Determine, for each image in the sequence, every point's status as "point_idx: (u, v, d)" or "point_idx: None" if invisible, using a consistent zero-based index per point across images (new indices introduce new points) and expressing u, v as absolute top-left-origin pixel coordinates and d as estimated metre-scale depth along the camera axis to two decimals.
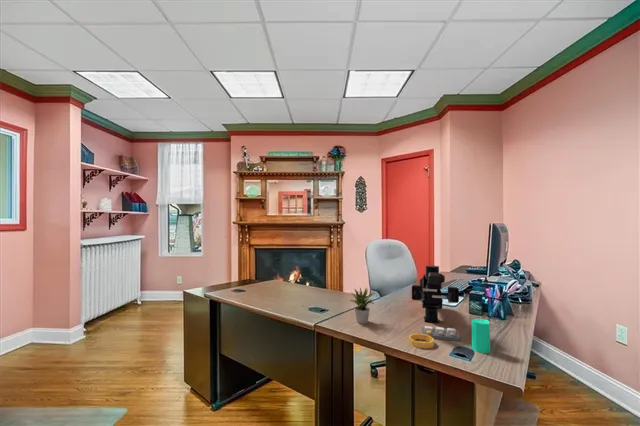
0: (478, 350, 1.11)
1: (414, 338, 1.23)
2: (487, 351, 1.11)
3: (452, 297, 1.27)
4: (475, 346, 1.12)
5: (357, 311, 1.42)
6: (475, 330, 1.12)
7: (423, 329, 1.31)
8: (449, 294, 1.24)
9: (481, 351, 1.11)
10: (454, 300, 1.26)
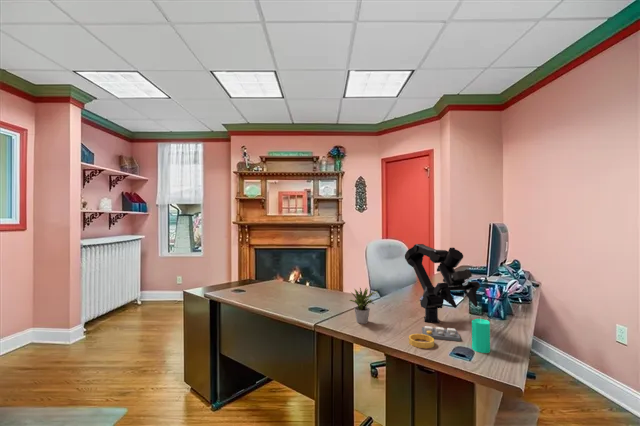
0: (478, 350, 1.11)
1: (414, 338, 1.23)
2: (487, 351, 1.11)
3: None
4: (475, 346, 1.12)
5: (357, 311, 1.42)
6: (475, 330, 1.12)
7: (423, 329, 1.31)
8: (475, 297, 1.24)
9: (481, 351, 1.11)
10: None
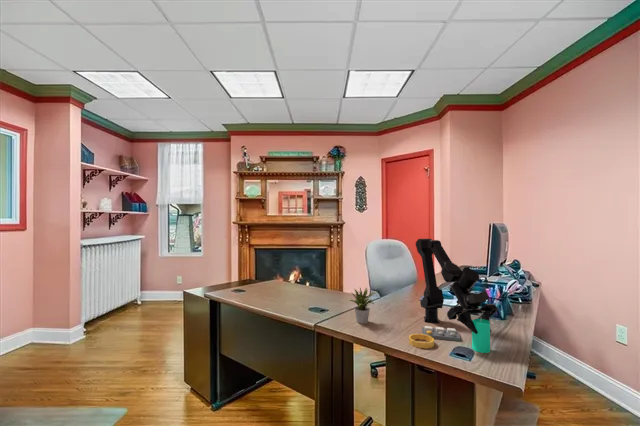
0: (478, 350, 1.11)
1: (414, 338, 1.23)
2: (487, 351, 1.11)
3: None
4: (475, 345, 1.12)
5: (357, 311, 1.42)
6: None
7: (423, 329, 1.31)
8: None
9: (481, 351, 1.11)
10: None
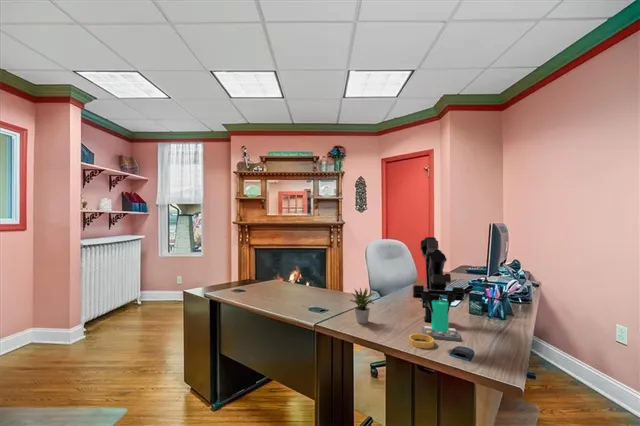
0: (433, 328, 1.15)
1: (414, 338, 1.23)
2: (442, 330, 1.13)
3: (451, 299, 1.19)
4: (432, 324, 1.16)
5: (357, 311, 1.42)
6: (432, 308, 1.16)
7: (423, 329, 1.31)
8: (448, 303, 1.16)
9: (435, 329, 1.14)
10: (453, 300, 1.19)
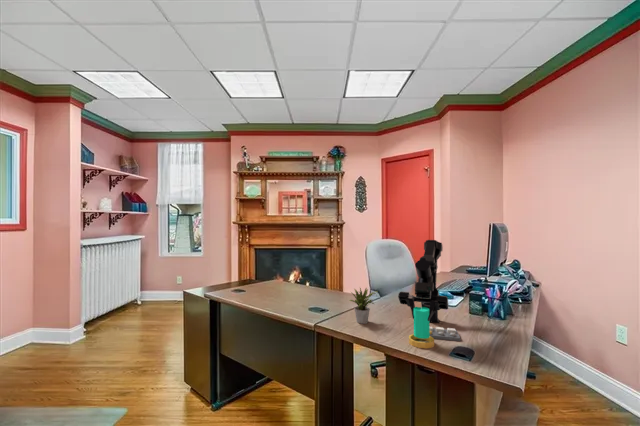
0: (414, 334, 1.19)
1: (414, 338, 1.23)
2: (421, 337, 1.17)
3: (435, 307, 1.21)
4: None
5: (357, 311, 1.42)
6: None
7: None
8: (430, 311, 1.18)
9: (416, 335, 1.18)
10: (437, 309, 1.21)
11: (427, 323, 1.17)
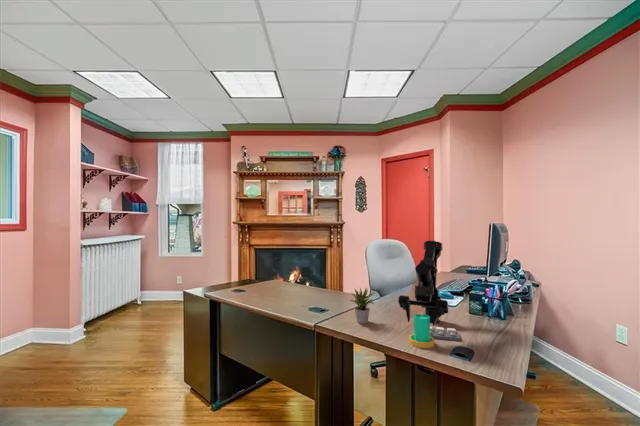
0: None
1: None
2: None
3: (440, 311, 1.19)
4: (414, 337, 1.20)
5: (357, 311, 1.42)
6: (414, 322, 1.20)
7: None
8: (435, 315, 1.17)
9: None
10: (442, 313, 1.20)
11: (427, 331, 1.17)
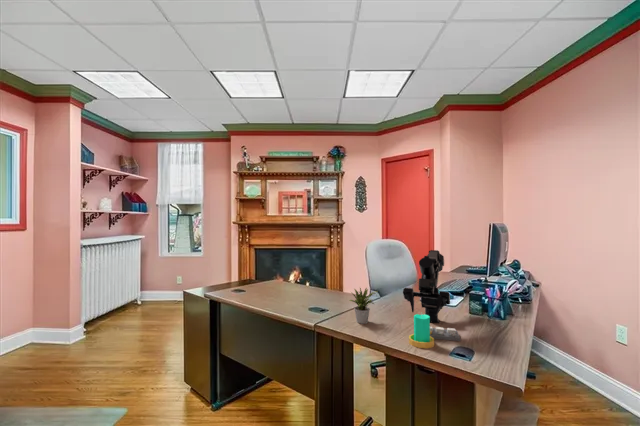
0: None
1: None
2: None
3: (442, 302, 1.27)
4: (414, 337, 1.20)
5: (357, 311, 1.42)
6: None
7: None
8: (438, 306, 1.25)
9: None
10: (445, 304, 1.28)
11: (427, 331, 1.17)
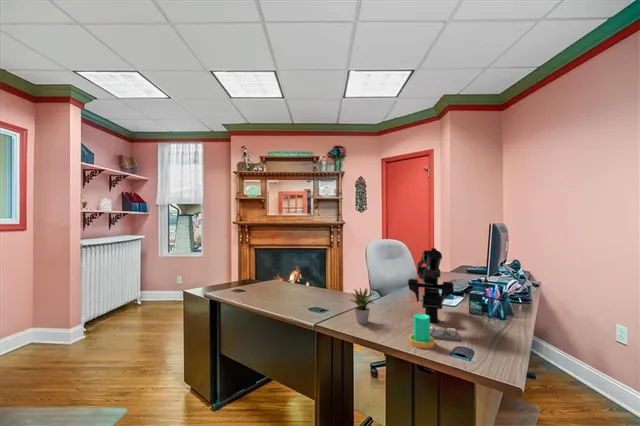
0: None
1: None
2: None
3: (446, 292, 1.32)
4: (414, 337, 1.20)
5: (357, 311, 1.42)
6: None
7: None
8: (442, 296, 1.30)
9: None
10: (448, 294, 1.32)
11: (427, 331, 1.17)
